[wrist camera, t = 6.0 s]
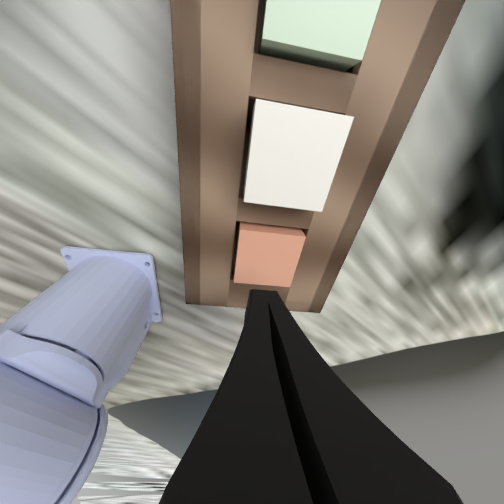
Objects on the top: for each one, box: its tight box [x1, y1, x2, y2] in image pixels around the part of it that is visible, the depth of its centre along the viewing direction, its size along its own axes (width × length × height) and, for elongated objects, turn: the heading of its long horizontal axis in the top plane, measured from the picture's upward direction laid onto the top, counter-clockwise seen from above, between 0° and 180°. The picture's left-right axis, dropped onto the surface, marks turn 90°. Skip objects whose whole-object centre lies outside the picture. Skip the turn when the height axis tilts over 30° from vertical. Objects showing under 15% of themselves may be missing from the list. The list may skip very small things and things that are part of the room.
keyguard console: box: [170, 0, 465, 313], centre depth 13 cm, size 24×12×4 cm, turn 172°
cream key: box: [244, 99, 354, 212], centre depth 11 cm, size 4×4×4 cm
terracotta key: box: [234, 221, 306, 287], centre depth 15 cm, size 4×4×4 cm
